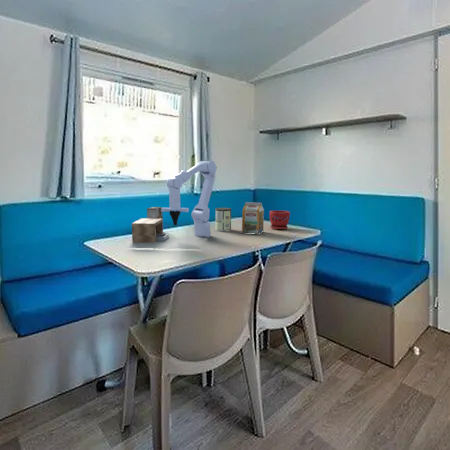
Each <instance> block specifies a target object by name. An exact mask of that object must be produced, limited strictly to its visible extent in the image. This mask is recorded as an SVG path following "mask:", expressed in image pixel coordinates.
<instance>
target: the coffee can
mask: <svg viewBox="0 0 450 450" xmlns="http://www.w3.org/2000/svg"><path fill="white" fill-rule="evenodd" d="M229 230H230V231H232V208H230V207H216V208H215V231H218V232H230V231H229Z"/></svg>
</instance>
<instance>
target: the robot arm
mask: <svg viewBox="0 0 450 450" xmlns="http://www.w3.org/2000/svg"><path fill="white" fill-rule="evenodd" d="M216 164H217V163H215V161H214V160H207V161H206V160H205V161H204V160H200V161H198V162H196V164H194V166H193V165H192V167H191V168H189V169H188V170H183V169H182V170H180V172H179V173H177V174H175V175H174V176H173V177H170V178H168V180H167V182H166V186H167V189H168V191H169V193H168V195H169V198H168V199H169V200H168V201H169V207H162V208H161V212H162V213H164V212H169V216H170V218H171V219H172V223H173V226H177V225H178V221H179V217H180V214H181V213H182V212H183V213H189V211H190V208H189V207H181V188H182V186H183V184H185V183H186V182H188V181H190V180H191V177H192V176H193V175H196V174H197V173H198V172H199V173H200V174H201V175H202V176H203V177H204V182H203V185H202V189H201V192H200V196H199V199H198V203H197V204H196V205H195V206H194V208H193V210H192V211H191V219H193V222H194V223H193V229H194V230H193V232H194V233H193V234H194V236H195V237H205V238H210V237H211V221H209V219H210V211H211V210H210V208H209V206H208V205H209V202H210V198H211V194H212V192H213V187H214V185H215V180H216V171H217V168H218V166H217V165H216Z"/></svg>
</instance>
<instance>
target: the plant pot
mask: <svg viewBox="0 0 450 450" xmlns="http://www.w3.org/2000/svg"><path fill="white" fill-rule="evenodd" d="M290 216H291V212H290V211H288V210H269V221H270V222H269V223H270V224H271V225H270V228H271V229H272V228H274V229H273V230H276V229H285V230H287V229H288V228H289V227H288V224H289V221H290Z"/></svg>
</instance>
